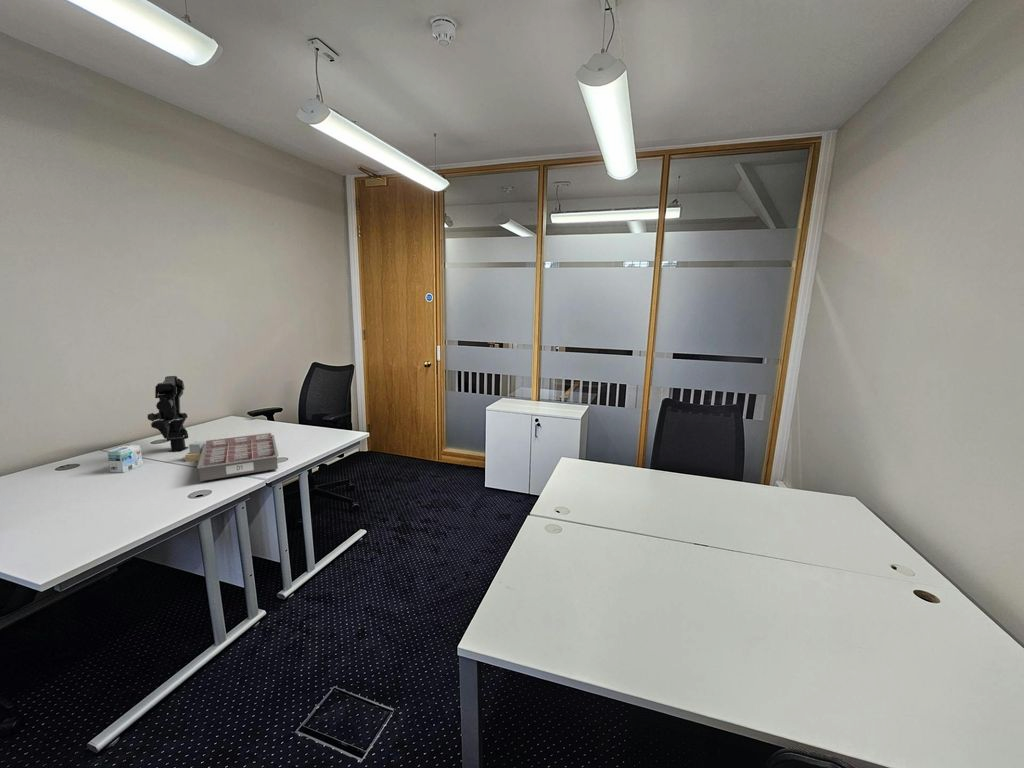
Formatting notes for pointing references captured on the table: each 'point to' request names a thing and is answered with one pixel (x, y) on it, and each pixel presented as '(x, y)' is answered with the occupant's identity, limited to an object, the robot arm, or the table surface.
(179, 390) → the robot arm
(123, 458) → the light bulb box
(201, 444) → the stone cube
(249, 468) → the organizer tray
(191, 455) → the oak block
